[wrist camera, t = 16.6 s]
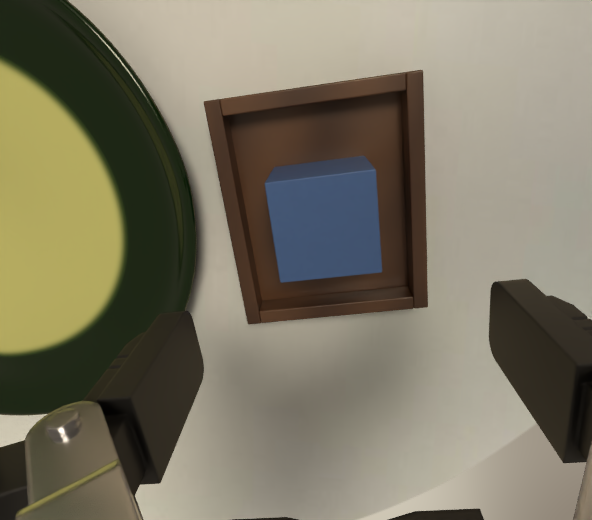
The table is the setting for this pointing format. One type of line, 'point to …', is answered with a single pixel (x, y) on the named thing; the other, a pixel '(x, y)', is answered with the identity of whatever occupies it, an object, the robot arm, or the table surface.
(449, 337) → the table surface
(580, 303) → the table surface
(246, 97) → the tray
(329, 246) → the cube
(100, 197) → the plate
